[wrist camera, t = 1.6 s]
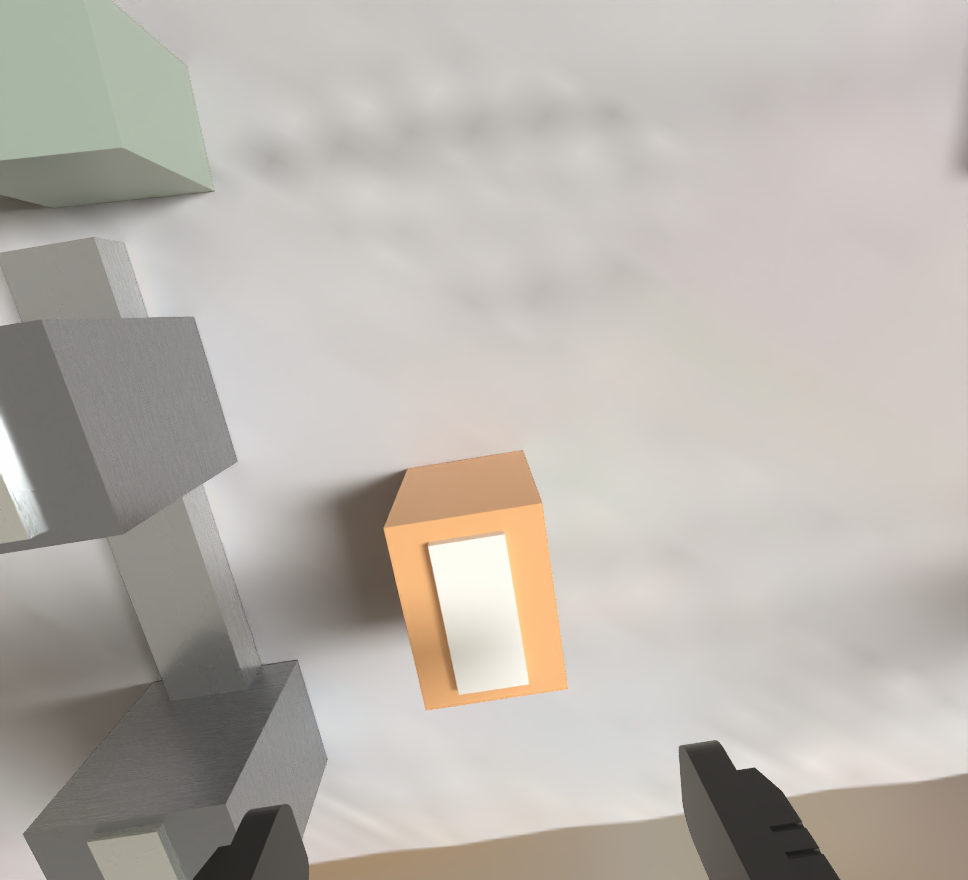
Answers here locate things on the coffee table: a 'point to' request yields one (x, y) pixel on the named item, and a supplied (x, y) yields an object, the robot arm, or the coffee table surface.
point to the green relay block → (93, 108)
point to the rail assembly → (143, 569)
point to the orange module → (476, 581)
